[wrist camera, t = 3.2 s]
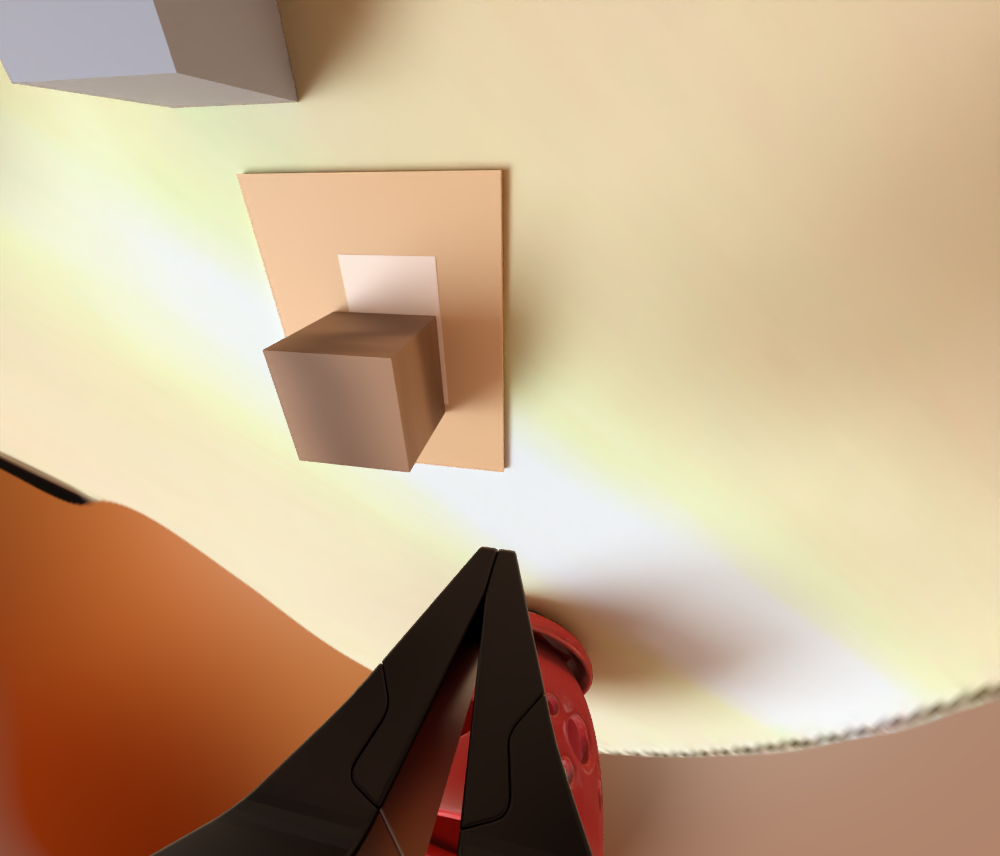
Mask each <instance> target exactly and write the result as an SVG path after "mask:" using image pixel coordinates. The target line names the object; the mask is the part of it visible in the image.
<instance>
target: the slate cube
mask: <svg viewBox="0 0 1000 856" xmlns="http://www.w3.org/2000/svg"><path fill="white" fill-rule="evenodd" d="M0 60H1V62H2V64H3V66H4V68H5V70H6V72H7V74H8V76H9V78H10V80H11V82H12V83H16V84H22V85H29V86H35V87H41V88H48V89H54V90H61V91H67V92H74V93H80V94H87V95H93V96H100V97H106V98H112V99H119V100H125V101H132V102H138V103H145V104H151V105H158V106H164V107H171V108H181V107H203V106H225V105H247V104H269V103H291V102H298V98H297V94H296V89H295V84H294V80H293V75H292V70H291V66H290V61H289V56H288V52H287V47H286V42H285V38H284V33H283V28H282V24H281V19H280V14H279V10H278V5H277V0H0Z"/></svg>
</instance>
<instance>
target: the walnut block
mask: <svg viewBox="0 0 1000 856" xmlns="http://www.w3.org/2000/svg"><path fill="white" fill-rule="evenodd" d="M263 353H264V356H265V359H266V362H267V365H268V368H269V371H270V374H271V377H272V380H273V383H274V385H275V388H276V391H277V394H278V397H279V400H280V403H281V406H282V409H283V412H284V415H285V418H286V421H287V424H288V427H289V430H290V433H291V436H292V439H293V442H294V445H295V448H296V451H297V454H298V457H299V460H302V461H311V462H320V463H329V464H338V465H347V466H356V467H365V468H375V469H384V470H393V471H402V472H410V471H411V469H412V467H413V466H414V464H415V462H416V461H417V459H418V457H419V456H420V454H421V452H422V451H423V449H424V447H425V446H426V444H427V442H428V441H429V439H430V437H431V436H432V434H433V432H434V431H435V429H436V427H437V426H438V424H439V422H440V421H441V419H442V417H443V416H444V414H445V405H444V395H443V384H442V374H441V363H440V353H439V342H438V332H437V321H436V316H426V315H403V314H381V313H358V312H336V311H334V312H332V313H330V314H328V315H326V316H324V317H323V318H321V319H319V320H317V321H315V322H313V323H312V324H310V325H308V326H306V327H304V328H302V329H301V330H299V331H297V332H295V333H293V334H291V335H290V336H288V337H286V338H284V339H282V340H280V341H279V342H277V343H275V344H273V345H271V346H269V347H268V348H266V349H264V350H263Z"/></svg>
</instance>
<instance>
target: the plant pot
mask: <svg viewBox="0 0 1000 856" xmlns="http://www.w3.org/2000/svg"><path fill="white" fill-rule="evenodd" d="M528 613H529V617H530V622H531V627H532V632H533V636H534V641H535V646H536V651H537V655H538V660H539V665H540V670H541V674H542V679H543V684H544V689H545V696H546V697H547V702H548V707H549V712H550V717H551V721H552V725H553V729H554V733H555V737H556V741H557V745H558V749H559V752H560V756H561V759H562V762H563V766H564V767H565V768H566V772H567V779H568V782H569V785H570V788H571V791H572V794H573V797H574V800H575V803H576V806H577V809H578V812H579V815H580V818H581V821H582V824H583V827H584V830H585V833H586V836H587V839H588V842H589V845H590V848H591V851H592V855H593V856H603V797H602V780H601V770H600V762H599V754H598V747H597V741H596V736H595V731H594V727H593V723H592V718H591V715H590V712H589V709H588V706H587V703H586V700H585V698H584V694H585V693H586V692H587V691H588V690H589V688H590V686H591V684H592V678H593V673H592V666H591V663H590V660H589V658H588V656H587V654H586V652H585V650H584V649H583V647H582V646H581V644H580V643H579V642H578V641H577V639H576V638H575V637H574V636H573V635H572V634H571V633H569V632H568V631H567V630H566V629H564V628H563V627H561V626H560V625H558V624H557V623H555V622H553V621H551V620H549V619H547V618H545V617H542V616H540V615H539V614H538V613H536V612H528ZM474 693H475V687H474V691H473V694H472V698H471V701H470V705H469V708H468V711H467V715H466V718H465V722H464V725H463V729H462V732H461V735H460V739H459V742H458V746H457V749H456V753H455V756H454V760H453V763H452V766H451V770H450V773H449V777H448V780H447V784H446V787H445V791H444V794H443V797H442V801H441V804H440V808H439V811H438V815H437V818H436V821H435V825H434V828H433V832H432V835H431V839H430V842H429V846H428V849H427V852H426V856H457V848H458V839H459V833H460V821H461V812H462V803H463V793H464V784H465V775H466V766H467V757H468V748H469V738H470V729H471V720H472V711H473V702H474Z"/></svg>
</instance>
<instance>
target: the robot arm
mask: <svg viewBox="0 0 1000 856" xmlns="http://www.w3.org/2000/svg"><path fill="white" fill-rule="evenodd" d="M382 663H383V664H379V665H378V666H377V667H376V668H375V670H374V671H373V672H372V673H371V674H370V675H369V677H368V678H367V679H366V680H365V681H364V682H363V683H362V684H361V685H360V687H359V688H358V689H357V690H356V691H355V692H354V693H353V694H352V695H351V696H350V698H349V699H348V700H347V701H346V702H345V703H344V704H343V705H342V706H341V707H340V708H339V709H338V710H337V711H336V712H335V713H334V714H333V715H332V716H331V717H330V718H329V719H328V720H327V721H326V722H325V723H324V724H323V725H322V726H321V727H320V728H319V729H318V730H317V731H315V733H313V734H312V735H311V736H310V737H309V738H308V739H307V740H306V741H305V742H304V743H303V744H302V745H301V746H300V747H299V748H298V749H297V750H296V751H295V752H293V753H292V754H291V756H289V757H288V758H287V759H286V760H285V761H284V762H283V763H282V764H281V765H280V766H279V767H278V768H277V769H276V770H275V771H274V772H273V773H272V774H270V775H269V776H268V777H267V778H266V779H265V780H264V781H263V782H262V783H261V784H260V785H259V786H258V787H257V788H256V789H254V790H253V791H252V792H251V793H250V794H248V795H247V796H246V797H245V798H244V799H242V800H241V801H240V802H238V803H237V804H236V805H234V806H233V807H232V808H230V809H229V810H228V811H226V812H224V813H223V814H221V815H220V816H218V817H216V818H215V819H213V820H211V821H210V822H208V823H206V824H204V825H203V826H201V827H199V828H197V829H196V830H194V831H192V832H190V833H189V834H187V835H185V836H184V837H182V838H180V839H178V840H177V841H175V842H173V843H171V844H169V845H168V846H166V847H164V848H162V849H161V850H159V851H157V852H155V853H154V854H152V855H150V856H426V852H427V849H428V846H429V842H430V839H431V835H432V832H433V828H434V825H435V821H436V818H437V815H438V811H439V808H440V804H441V801H442V797H443V794H444V791H445V787H446V784H447V780H448V777H449V773H450V770H451V766H452V763H453V760H454V756H455V753H456V749H457V746H458V742H459V739H460V735H461V732H462V729H463V725H464V722H465V718H466V715H467V711H468V708H469V705H470V701H471V698H472V694H473V691H474V687H475V693H474V702H473V711H472V720H471V729H470V738H469V748H468V757H467V766H466V775H465V784H464V793H463V803H462V812H461V821H460V833H459V839H458V848H457V856H593V855H592V851H591V848H590V845H589V842H588V839H587V836H586V833H585V830H584V827H583V824H582V821H581V818H580V815H579V812H578V809H577V806H576V803H575V800H574V797H573V794H572V791H571V788H570V785H569V782H568V779H567V775H566V772H565V769H564V766H563V762H562V759H561V756H560V752H559V749H558V745H557V741H556V737H555V733H554V729H553V725H552V721H551V717H550V712H549V707H548V702H547V697H546V696H545V689H544V684H543V679H542V674H541V670H540V665H539V660H538V655H537V651H536V646H535V641H534V636H533V632H532V627H531V622H530V617H529V613H528V608H527V603H526V598H525V594H524V589H523V584H522V579H521V575H520V570H519V565H518V560H517V556H516V553H515V551H511V550H504V549H500V550H499V551H498V550H497V549H496V548H490V547H481V548H480V549H479V550H478V551H477V552H476V553H475V554H474V555H473V556H472V558H471V559H470V560H469V561H468V562H467V563H466V565H465V566H464V567H463V568H462V569H461V570H460V571H459V573H458V574H457V575H456V576H455V577H454V578H453V580H452V581H451V582H450V583H449V584H448V585H447V587H446V588H445V589H444V590H443V591H442V592H441V593H440V595H439V596H438V597H437V598H436V599H435V600H434V602H433V603H432V604H431V605H430V606H429V607H428V609H427V610H426V611H425V612H424V613H423V614H422V615H421V617H420V618H419V619H418V620H417V621H416V622H415V624H414V625H413V626H412V627H411V628H410V629H409V630H408V632H407V633H406V634H405V635H404V636H403V637H402V639H401V640H400V641H399V642H398V643H397V644H396V646H395V647H394V648H393V649H392V650H391V651H390V652H389V654H388V655H387V656H386V657H385V658H384V659H383V661H382Z"/></svg>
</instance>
